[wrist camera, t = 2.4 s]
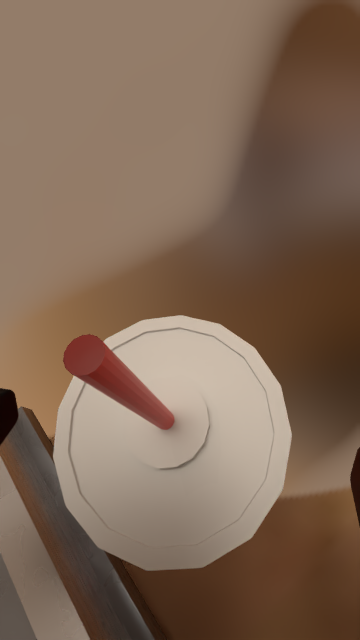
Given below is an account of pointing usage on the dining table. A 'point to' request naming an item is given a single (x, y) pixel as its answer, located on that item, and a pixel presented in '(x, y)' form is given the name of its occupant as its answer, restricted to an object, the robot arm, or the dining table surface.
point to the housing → (56, 556)
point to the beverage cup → (170, 441)
